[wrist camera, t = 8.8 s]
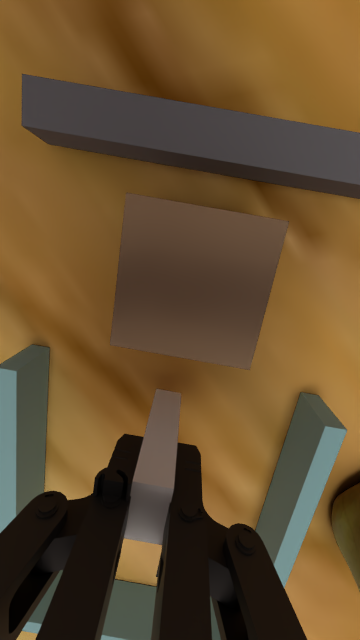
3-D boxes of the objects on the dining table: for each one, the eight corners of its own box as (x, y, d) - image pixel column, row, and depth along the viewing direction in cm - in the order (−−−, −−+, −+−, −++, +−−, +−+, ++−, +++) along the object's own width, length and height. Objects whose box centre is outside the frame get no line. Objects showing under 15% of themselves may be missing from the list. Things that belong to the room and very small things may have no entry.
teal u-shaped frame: (31, 344, 18) (-6, 367, 15) (318, 395, 18) (347, 430, 15) (27, 573, 24) (0, 626, 21) (242, 612, 24) (250, 672, 21)
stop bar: (49, 101, 14) (22, 73, 12) (387, 160, 14) (424, 144, 12) (48, 144, 15) (21, 125, 12) (373, 201, 15) (406, 193, 12)
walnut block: (151, 211, 16) (126, 192, 10) (254, 230, 16) (289, 221, 10) (138, 311, 17) (110, 345, 11) (231, 328, 17) (249, 369, 11)
